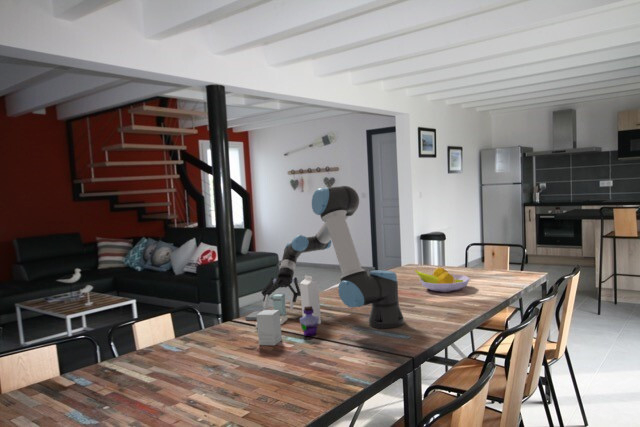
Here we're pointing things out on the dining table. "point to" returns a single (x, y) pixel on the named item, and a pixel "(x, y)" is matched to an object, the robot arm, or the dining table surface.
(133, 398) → the dining table surface
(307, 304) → the milk
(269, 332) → the supplement box
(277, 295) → the light blue tall block
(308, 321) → the potion bottle
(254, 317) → the coaster
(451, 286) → the fruit bowl
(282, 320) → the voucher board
